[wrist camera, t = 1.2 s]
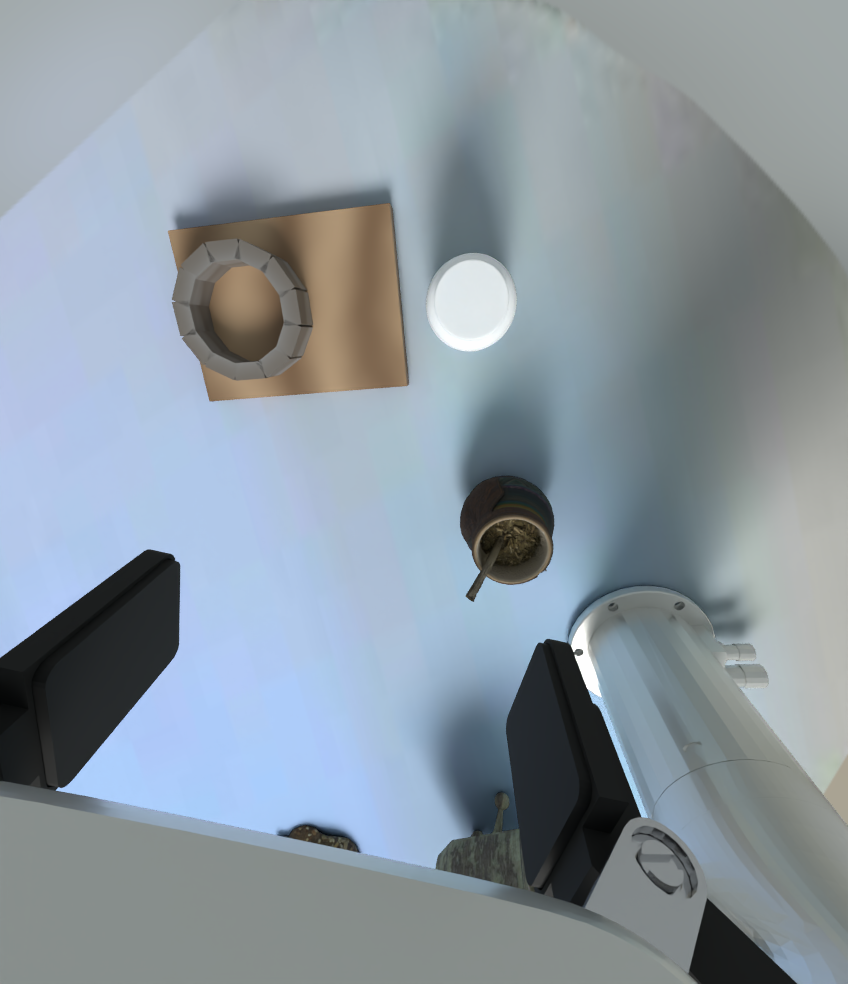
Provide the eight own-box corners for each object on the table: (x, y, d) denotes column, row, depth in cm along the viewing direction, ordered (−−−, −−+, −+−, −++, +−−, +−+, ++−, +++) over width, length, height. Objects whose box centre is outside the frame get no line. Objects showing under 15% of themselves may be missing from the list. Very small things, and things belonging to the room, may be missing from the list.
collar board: (392, 208, 30) (383, 191, 27) (409, 384, 34) (402, 389, 31) (178, 234, 32) (143, 222, 29) (217, 399, 36) (191, 406, 32)
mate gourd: (565, 500, 36) (600, 560, 27) (506, 561, 39) (519, 635, 30) (499, 449, 35) (511, 492, 26) (442, 515, 38) (434, 576, 29)
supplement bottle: (423, 284, 32) (407, 263, 23) (495, 257, 31) (509, 223, 22) (445, 358, 33) (438, 366, 24) (515, 334, 32) (535, 333, 23)
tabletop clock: (549, 862, 52) (621, 1298, 28) (477, 873, 54) (488, 1292, 30) (511, 777, 48) (558, 1206, 24) (434, 793, 49) (408, 1205, 26)
